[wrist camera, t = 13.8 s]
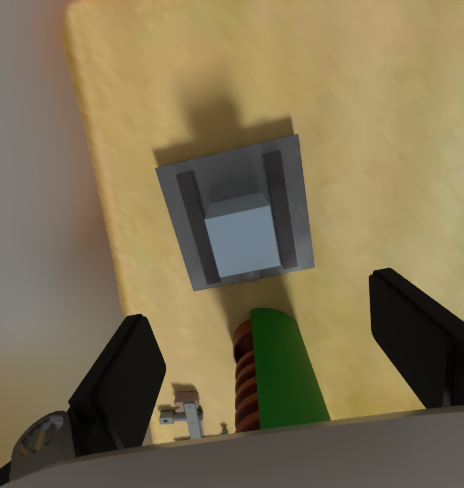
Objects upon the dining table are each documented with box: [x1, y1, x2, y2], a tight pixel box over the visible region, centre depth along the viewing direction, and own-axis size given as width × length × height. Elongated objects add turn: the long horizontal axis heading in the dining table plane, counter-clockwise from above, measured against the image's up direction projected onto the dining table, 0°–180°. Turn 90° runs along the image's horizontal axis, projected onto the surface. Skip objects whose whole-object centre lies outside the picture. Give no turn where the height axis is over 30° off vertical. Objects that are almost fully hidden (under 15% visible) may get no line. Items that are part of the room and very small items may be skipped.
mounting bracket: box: [155, 134, 315, 291], centre depth 26 cm, size 14×14×2 cm
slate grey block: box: [205, 192, 280, 282], centre depth 23 cm, size 5×7×7 cm
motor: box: [233, 308, 331, 433], centre depth 24 cm, size 10×9×20 cm
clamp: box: [159, 391, 228, 439], centre depth 38 cm, size 15×2×10 cm
